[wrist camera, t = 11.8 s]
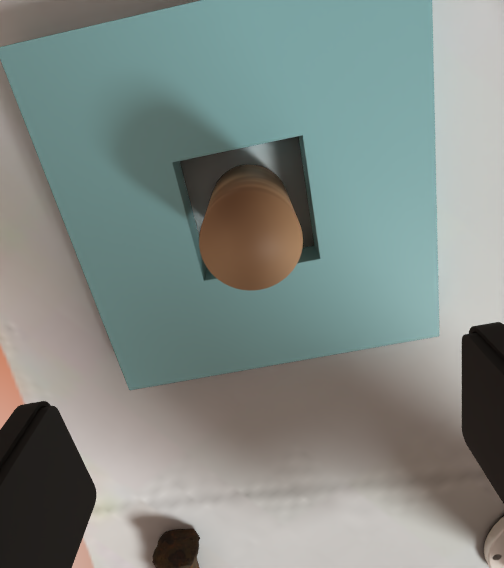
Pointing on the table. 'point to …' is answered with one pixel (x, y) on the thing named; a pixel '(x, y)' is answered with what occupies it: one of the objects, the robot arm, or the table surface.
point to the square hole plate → (233, 135)
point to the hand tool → (177, 549)
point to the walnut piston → (250, 230)
